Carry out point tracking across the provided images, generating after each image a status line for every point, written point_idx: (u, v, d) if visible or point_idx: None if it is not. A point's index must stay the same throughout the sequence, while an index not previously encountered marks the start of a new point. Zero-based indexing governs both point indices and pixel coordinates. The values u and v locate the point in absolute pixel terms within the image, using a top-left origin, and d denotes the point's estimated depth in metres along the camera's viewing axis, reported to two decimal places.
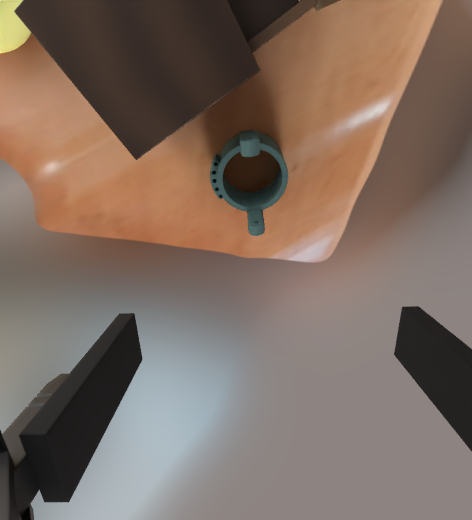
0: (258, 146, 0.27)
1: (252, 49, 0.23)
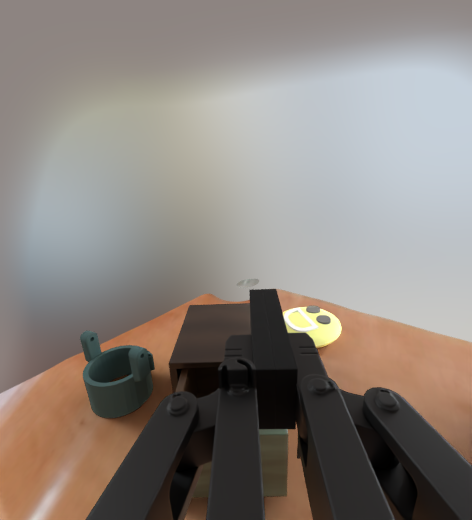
0: (132, 355, 0.35)
1: (182, 372, 0.31)
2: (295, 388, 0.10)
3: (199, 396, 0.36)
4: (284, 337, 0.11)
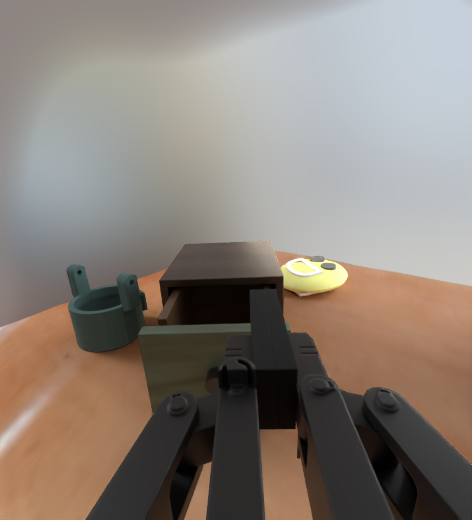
0: (121, 280, 0.32)
1: (174, 290, 0.28)
2: (295, 388, 0.10)
3: None
4: (284, 337, 0.11)
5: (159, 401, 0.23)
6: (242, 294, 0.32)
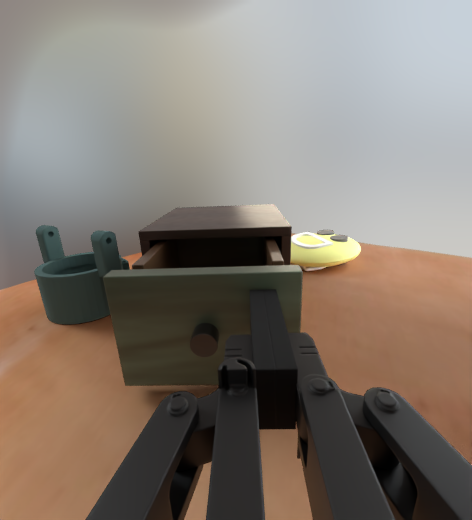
0: (96, 237, 0.27)
1: (158, 242, 0.24)
2: (295, 388, 0.10)
3: None
4: (284, 337, 0.11)
5: (133, 368, 0.18)
6: (240, 255, 0.28)
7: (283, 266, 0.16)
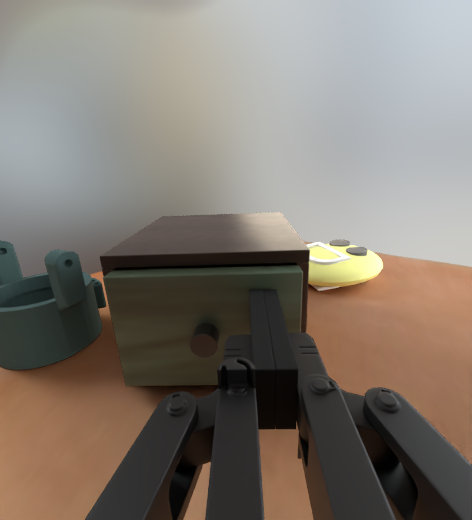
0: (50, 260, 0.20)
1: None
2: (296, 388, 0.10)
3: None
4: (285, 337, 0.11)
5: (133, 369, 0.18)
6: None
7: (283, 266, 0.16)
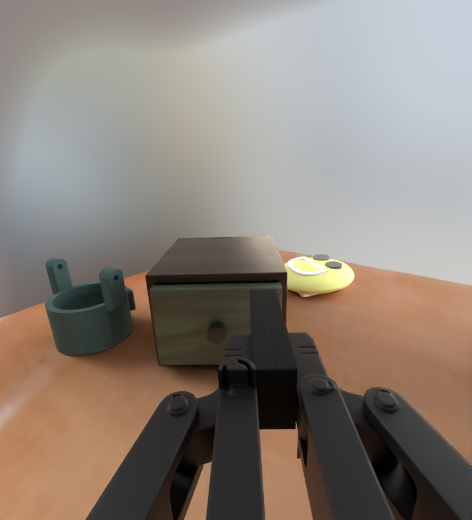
0: (104, 275, 0.28)
1: None
2: (295, 388, 0.10)
3: None
4: (284, 337, 0.11)
5: (166, 353, 0.26)
6: None
7: (269, 283, 0.24)
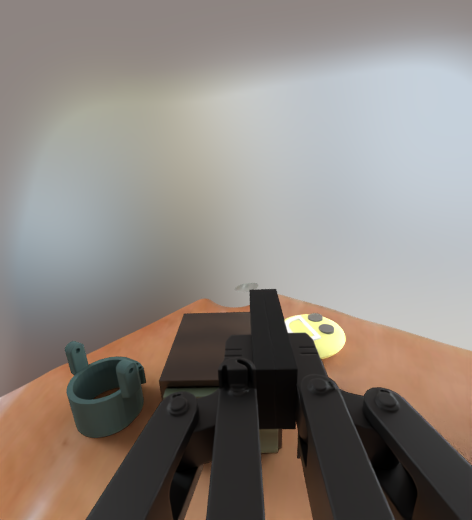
0: (120, 370, 0.32)
1: None
2: (295, 388, 0.10)
3: None
4: (284, 337, 0.11)
5: None
6: None
7: None
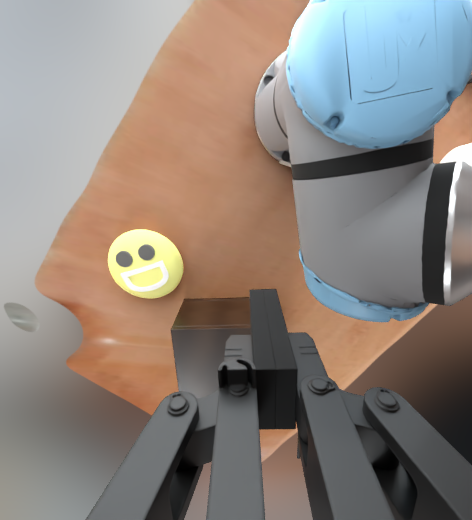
0: None
1: None
2: (295, 388, 0.10)
3: None
4: (284, 337, 0.11)
5: None
6: None
7: None
